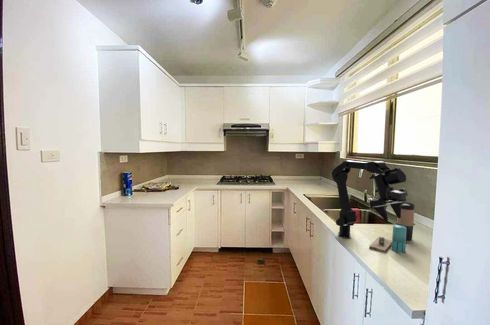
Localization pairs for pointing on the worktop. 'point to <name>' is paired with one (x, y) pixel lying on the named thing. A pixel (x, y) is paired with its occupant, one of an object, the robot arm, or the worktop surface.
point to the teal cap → (399, 238)
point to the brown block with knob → (381, 244)
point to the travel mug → (407, 219)
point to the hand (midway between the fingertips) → (393, 219)
